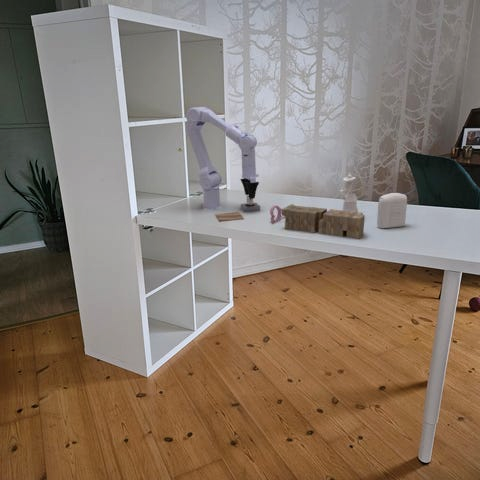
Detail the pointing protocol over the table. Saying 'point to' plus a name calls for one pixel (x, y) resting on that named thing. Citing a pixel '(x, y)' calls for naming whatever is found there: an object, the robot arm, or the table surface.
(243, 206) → the chuck block
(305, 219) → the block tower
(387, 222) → the off-white upright rounded block
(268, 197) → the table surface
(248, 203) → the silver metal cylinder
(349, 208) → the figurine
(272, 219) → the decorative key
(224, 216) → the pad
